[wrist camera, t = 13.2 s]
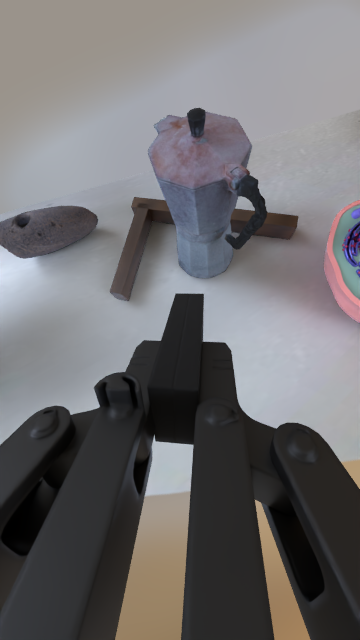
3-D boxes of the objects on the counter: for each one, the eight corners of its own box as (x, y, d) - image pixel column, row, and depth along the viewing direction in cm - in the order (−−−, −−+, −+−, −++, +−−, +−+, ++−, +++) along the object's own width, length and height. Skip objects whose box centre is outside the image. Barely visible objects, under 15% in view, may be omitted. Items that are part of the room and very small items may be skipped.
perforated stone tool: (101, 216, 41) (81, 184, 34) (107, 240, 40) (87, 212, 33) (24, 242, 41) (-11, 216, 35) (27, 267, 40) (-9, 244, 33)
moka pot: (194, 209, 39) (184, 47, 20) (264, 265, 35) (334, 129, 16) (154, 245, 38) (103, 112, 19) (221, 306, 34) (240, 215, 15)
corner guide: (111, 297, 37) (103, 290, 34) (139, 209, 40) (134, 196, 38) (276, 330, 33) (283, 325, 30) (291, 228, 36) (298, 215, 33)
